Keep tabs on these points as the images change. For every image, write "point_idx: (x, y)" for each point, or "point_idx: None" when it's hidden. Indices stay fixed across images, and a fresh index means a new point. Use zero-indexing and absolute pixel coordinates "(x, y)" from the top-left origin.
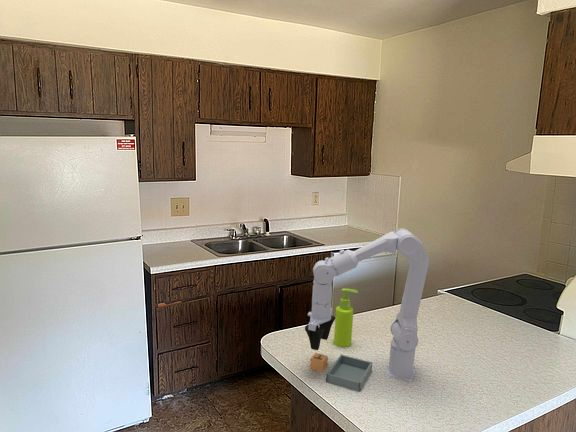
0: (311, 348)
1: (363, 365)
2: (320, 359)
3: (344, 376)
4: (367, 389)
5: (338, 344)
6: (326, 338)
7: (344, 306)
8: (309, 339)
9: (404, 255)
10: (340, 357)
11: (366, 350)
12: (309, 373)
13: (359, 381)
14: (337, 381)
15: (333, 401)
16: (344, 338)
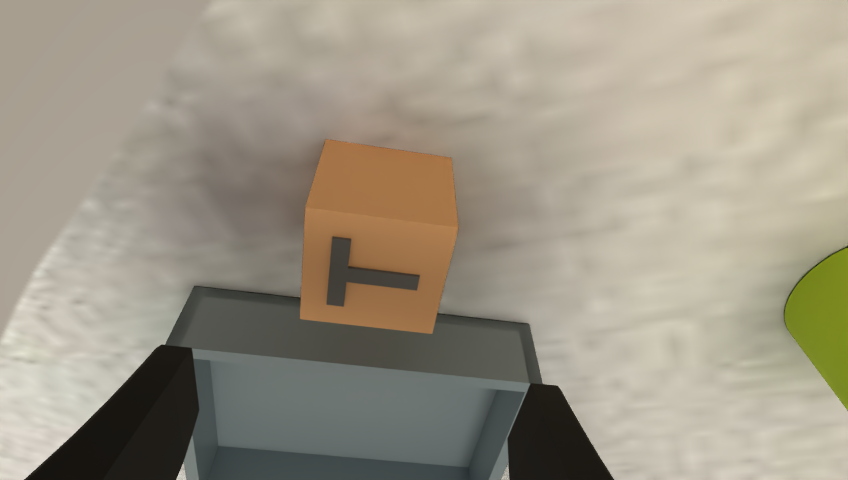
0: (153, 353)
1: (478, 465)
2: (328, 294)
3: (332, 376)
4: None
5: (822, 299)
6: (510, 456)
7: None
8: (31, 474)
9: None
10: (488, 387)
11: (758, 426)
12: (267, 147)
13: None
14: None
15: (27, 353)
16: (843, 389)
